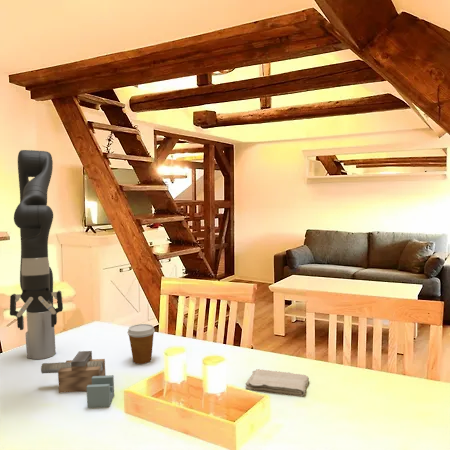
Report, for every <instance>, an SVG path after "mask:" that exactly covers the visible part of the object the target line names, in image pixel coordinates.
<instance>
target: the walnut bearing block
mask: <svg viewBox="0 0 450 450" xmlns="http://www.w3.org/2000/svg"><path fill="white" fill-rule="evenodd" d="M88 361H103V369H102V371H101V366H98V367H87V362H88ZM65 362H71V368H60V370H59V371H58V373H57V374H58V375H57V377H58V393H61V394H62V393H77V392H78V393H79V392H80V393H81V392H87V385H92V377H93V376H106V360H105V358H95V359H93V352H92V350H83V351H81V350H80V351H78V352H77V353H76V354H75V356H74V358H73V359H72V360H66V361H65Z"/></svg>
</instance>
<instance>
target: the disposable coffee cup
mask: <svg viewBox="0 0 450 450" xmlns="http://www.w3.org/2000/svg"><path fill="white" fill-rule="evenodd" d="M155 331H156V330H155V328H154V325H153V324H149V323H138V324H134V325H131V326H129V327H128V329H127V334H128V335H127V336H128V338H129V343H130V350H131V356H132V362H133V363H134V364H138V365H143V364H144V365H145V364H148V363H150V362H151V361H152V358H153V357H152V355H153V344H154V333H155Z"/></svg>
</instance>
